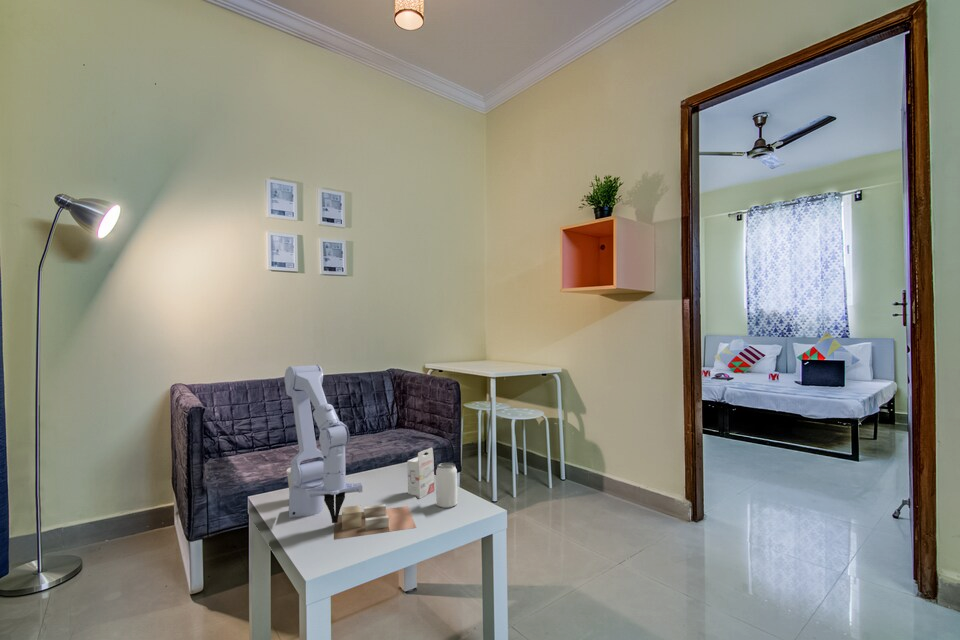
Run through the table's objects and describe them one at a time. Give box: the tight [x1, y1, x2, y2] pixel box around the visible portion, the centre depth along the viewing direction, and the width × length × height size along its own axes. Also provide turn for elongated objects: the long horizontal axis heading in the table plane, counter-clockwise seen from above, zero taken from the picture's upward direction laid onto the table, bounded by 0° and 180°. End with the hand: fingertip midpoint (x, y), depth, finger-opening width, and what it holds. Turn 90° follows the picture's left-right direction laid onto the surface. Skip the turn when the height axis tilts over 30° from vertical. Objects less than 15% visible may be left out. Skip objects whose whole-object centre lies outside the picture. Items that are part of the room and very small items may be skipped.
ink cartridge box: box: [406, 446, 435, 499], centre depth 148 cm, size 9×5×15 cm, turn 151°
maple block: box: [341, 504, 362, 529], centre depth 122 cm, size 5×5×4 cm
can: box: [435, 462, 458, 509], centre depth 138 cm, size 6×6×12 cm
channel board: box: [333, 503, 417, 541], centre depth 124 cm, size 21×16×4 cm
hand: (334, 521), depth 121 cm, fingers closed
